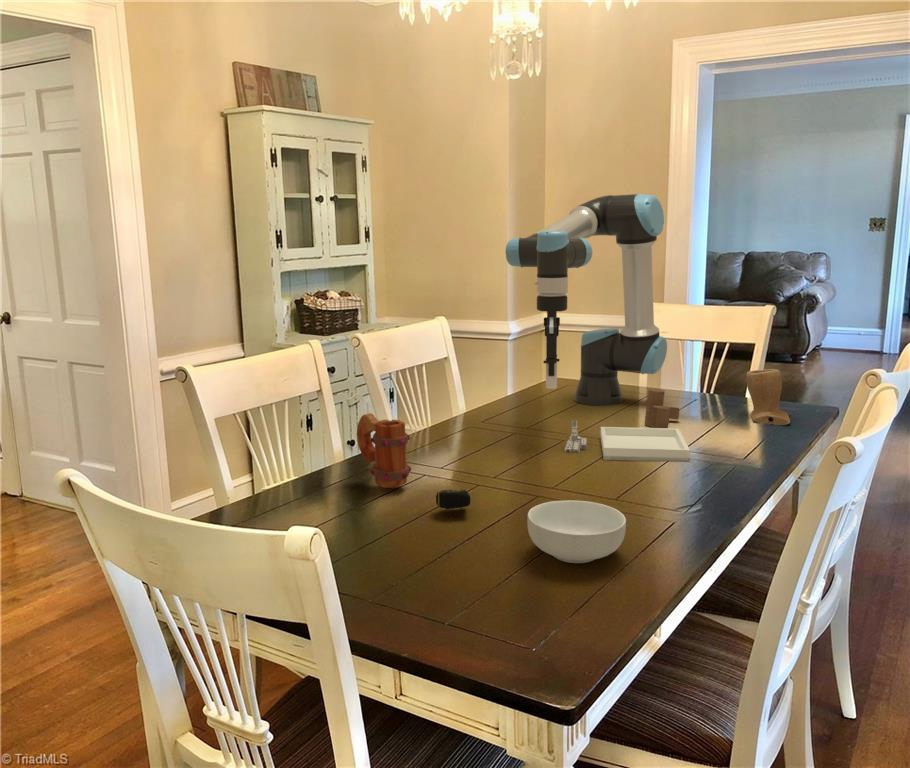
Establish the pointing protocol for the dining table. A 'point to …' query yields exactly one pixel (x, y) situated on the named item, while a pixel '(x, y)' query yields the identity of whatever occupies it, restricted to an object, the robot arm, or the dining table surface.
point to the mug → (384, 449)
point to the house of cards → (575, 440)
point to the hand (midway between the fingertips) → (551, 387)
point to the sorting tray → (643, 444)
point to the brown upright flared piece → (766, 396)
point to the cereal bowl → (576, 529)
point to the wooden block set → (659, 410)
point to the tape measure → (452, 499)
